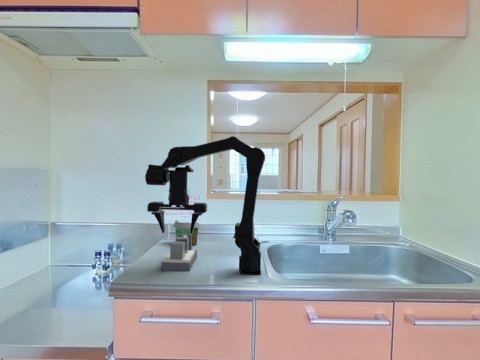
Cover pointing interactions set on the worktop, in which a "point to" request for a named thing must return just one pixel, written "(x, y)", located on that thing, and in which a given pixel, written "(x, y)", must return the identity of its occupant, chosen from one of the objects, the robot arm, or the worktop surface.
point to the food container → (187, 230)
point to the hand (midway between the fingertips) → (177, 233)
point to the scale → (181, 264)
